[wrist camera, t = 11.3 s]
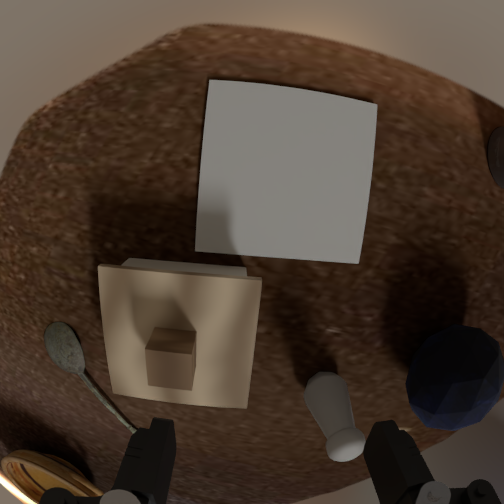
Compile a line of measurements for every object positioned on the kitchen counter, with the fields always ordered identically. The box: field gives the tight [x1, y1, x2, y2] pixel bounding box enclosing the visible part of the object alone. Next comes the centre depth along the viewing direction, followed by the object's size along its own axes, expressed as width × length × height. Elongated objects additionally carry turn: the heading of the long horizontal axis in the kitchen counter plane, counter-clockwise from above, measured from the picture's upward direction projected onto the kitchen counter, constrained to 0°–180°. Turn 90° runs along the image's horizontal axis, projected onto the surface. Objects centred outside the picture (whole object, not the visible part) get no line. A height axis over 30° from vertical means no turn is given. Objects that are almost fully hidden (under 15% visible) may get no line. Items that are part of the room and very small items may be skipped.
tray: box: [195, 80, 377, 264], centre depth 32 cm, size 18×18×1 cm
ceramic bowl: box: [1, 449, 104, 504], centre depth 40 cm, size 30×24×8 cm
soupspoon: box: [44, 322, 137, 434], centre depth 37 cm, size 22×3×7 cm
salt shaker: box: [304, 371, 366, 462], centre depth 33 cm, size 6×6×13 cm
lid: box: [98, 264, 262, 408], centre depth 27 cm, size 15×15×5 cm
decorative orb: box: [405, 324, 504, 431], centre depth 33 cm, size 14×15×15 cm
